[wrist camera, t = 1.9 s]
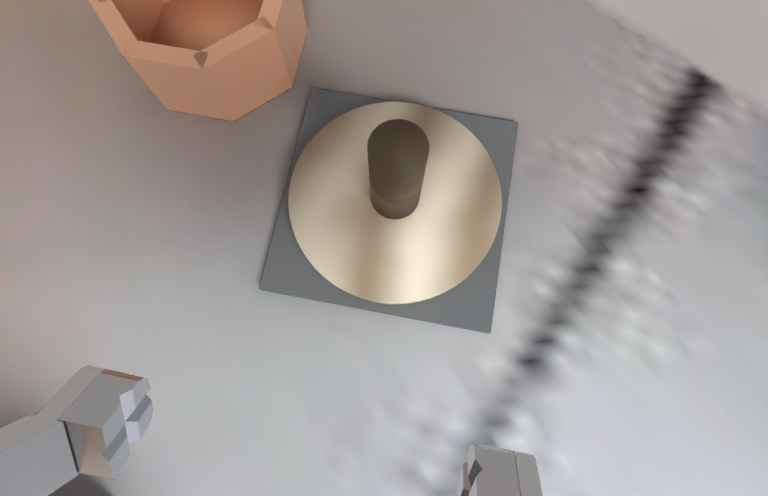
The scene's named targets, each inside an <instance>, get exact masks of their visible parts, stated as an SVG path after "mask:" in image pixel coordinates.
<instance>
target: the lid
mask: <svg viewBox="0 0 768 496" xmlns="http://www.w3.org/2000/svg"><path fill="white" fill-rule="evenodd" d="M288 206H289V217H290V221H291V225H292V229H293V232H294V235H295V237H296V240H297V242H298V244H299V246H300V248H301V250H302V251H303V253H304V255H305V256H306V258H307V259H308V260H309V262H310V263H311V264H312V266H313V267H314V268H315V269H316V270H317V271H318V272H319V273H320V274H321V275H322V276H323V277H324V278H325V279H326V280H327V281H328V282H330V283H331V284H332V285H334V286H335V287H337V288H338V289H340V290H342V291H344V292H345V293H347V294H349V295H352V296H354V297H357V298H359V299H362V300H366V301H370V302H374V303H380V304H388V305H400V304H410V303H418V302H421V301H425V300H428V299H432V298H434V297H436V296H439V295H441V294H444V293H445V292H447V291H449V290H450V289H452V288H454V287H456V286H457V285H458V284H459V283H461V282H462V281H463V280H465V279H466V278H467V277H468V276H469V275H470V274H471V273H472V272H473V271H474V270H475V269H476V268H477V266H478V265H479V264H480V263H481V261H482V260H483V259H484V257H485V256H486V254H487V253H488V251H489V249H490V247H491V246H492V244H493V242H494V239H495V236H496V234H497V231H498V228H499V223H500V218H501V209H502V196H501V187H500V182H499V178H498V174H497V172H496V169H495V166H494V164H493V162H492V160H491V158H490V156H489V154H488V152H487V151H486V149H485V148H484V147H483V145H482V144H481V142H480V141H479V140H478V139H477V138H476V137H475V136H474V135H473V133H472V132H471V131H469V130H468V129H467V128H466V127H465V126H463V125H462V124H461V123H460V122H458V121H457V120H455V119H453V118H452V117H450V116H448V115H446V114H444V113H442V112H440V111H438V110H435V109H433V108H430V107H427V106H423V105H419V104H415V103H407V102H382V103H374V104H370V105H366V106H362V107H359V108H356V109H354V110H351V111H348V112H346V113H345V114H343V115H341V116H339V117H337V118H335V119H334V120H333V121H331V122H330V123H328V124H327V125H326V126H324V127H323V128H322V129H321V130H320V131H319V132H318V133H317V134H316V135H315V136H314V137H313V138H312V139H311V140H310V142H309V143H308V144H307V146H306V147H305V149H304V150H303V152H302V153H301V155H300V157H299V159H298V161H297V163H296V165H295V168H294V171H293V174H292V177H291V182H290V187H289V199H288Z"/></svg>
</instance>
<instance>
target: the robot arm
mask: <svg viewBox="0 0 768 496" xmlns="http://www.w3.org/2000/svg"><path fill="white" fill-rule="evenodd" d="M149 389H150V385H149V380H148V379H147V378H143V377H138V376H134V375H130V374H125V373H121V372H117V371H112V370H108V369H103V368H98V367H94V366H89V365H87V366H85V367H83V368H81V369H80V370H78V372H77V373H76V374H75V375H74V376H73V377H72V378H71V379H70V380H69V381H68V382H67V383H66V384H65V385H64V386H63V387H62V388H61V389H60V390H59V391H58V392H57V393H56V395H55V396H54V397H53V398H52V399H51V400H50V401H49V402H48V403H47V404H46V405H45V406H44V407H43V408H42V409H41V410H40V411H39V412H38V413H37V414H36V415H35V416H32V415H28V416H26V417H23V418H21V419H19V420H17V421H15V422H13V423H10V424H8V425H6V426H4V427H2V428H0V496H48V495H50V494H51V493H53V492H54V491H56V490H57V489H59V488H60V487H61V486H63V485H64V484H66V483H67V482H69V481H70V480H72V479H73V478H75V477H76V476H78V473H81V474H87V475H92V476H98V477H104V478H109V479H114V477H115V476H116V474H117V473H118V471H119V470H120V469H121V467H122V466H123V464H124V463H125V461H126V460H127V458H128V457H129V455H130V451H129V445H131V444H133V443H134V442H136V441H138V440H140V439H141V437H142V436H143V434H144V433H145V431H146V430H147V428H148V425H149V423H150V420H151V417H152V411H153V405H152V400H151V399H150V398H149V397H148V396H147V395H146V394H147V392H148V391H149ZM467 461H468V462H466V463H464V464H463V465H462V468H461V472H460V476H459V482H458V493H457V496H543V494H542V489H541V484H540V478H539V473H538V468H537V463H536V459H535V457H534V456H533V455H530V454H525V453H520V452H515V451H511V450H507V449H501V448H496V447H491V446H485V445H480V444H475V443H472V444H471V445H470V447H469V449H468V452H467Z"/></svg>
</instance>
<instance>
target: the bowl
mask: <svg viewBox="0 0 768 496" xmlns="http://www.w3.org/2000/svg"><path fill="white" fill-rule="evenodd" d="M88 1H89V3H90V4H91V6H92V7H93V9H94V11H95V12H96V14H97V15H98V17H99V19H100V20H101V22H102V23H103V25H104V27H105V28H106V30H107V31H108V33H109V35H110V36H111V38H112V39H113V41H114V43H115V44H116V46H117V47H118V49H119V51H120V52H121V54H122V55H123V57H124V58H125V59H126V61H127V62H128V63H129V64H130V66H131V67H132V68H133V69H134V70H135V72H136V73H137V74H138V75H139V77H140V78H141V79H142V80H143V81H144V83H145V84H146V85H147V86H148V87H149V89H150V90H151V91H152V92H153V94H154V95H155V96H156V97H157V98H158V100H159V101H160V102H161V103H162V105H163V106H164V107H165V108H166V109H167V110H171V111H177V112H183V113H188V114H194V115H200V116H206V117H211V118H217V119H223V120H229V121H235V120H237V119H238V118H240V117H242V116H243V115H245V114H247V113H249V112H250V111H252V110H254V109H256V108H257V107H259V106H261V105H262V104H264V103H266V102H268V101H269V100H271V99H273V98H275V97H276V96H278V95H280V94H282V93H283V92H285V91H287V90H288V89H290V88H292V87H293V84H294V80H295V76H296V73H297V69H298V65H299V62H300V58H301V54H302V51H303V47H304V43H305V40H306V36H307V32H308V28H307V24H306V19H305V14H304V10H303V5H302V1H301V0H88Z"/></svg>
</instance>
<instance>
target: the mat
mask: <svg viewBox="0 0 768 496" xmlns="http://www.w3.org/2000/svg"><path fill="white" fill-rule="evenodd" d="M382 102H395V101H389V100H383V99H377V98H371V97H365V96H359V95H353V94H347V93H341V92H335V91H330V90H324V89H318V88H311V92H310V96H309V100H308V103H307V107H306V111H305V115H304V119H303V122H302V126H301V130H300V134H299V138H298V142H297V145H296V149H295V153H294V157H293V161H292V165H291V168H290V172H289V176H288V180H287V184H286V188H285V191H284V195H283V199H282V203H281V207H280V210H279V214H278V218H277V222H276V226H275V230H274V233H273V237H272V241H271V245H270V249H269V253H268V256H267V260H266V264H265V268H264V272H263V275H262V279H261V283H260V287H259V289H260V290H264V291H270V292H275V293H280V294H285V295H291V296H296V297H301V298H306V299H312V300H317V301H322V302H327V303H332V304H338V305H343V306H348V307H353V308H359V309H364V310H369V311H374V312H380V313H385V314H390V315H395V316H401V317H406V318H411V319H416V320H422V321H427V322H432V323H437V324H442V325H448V326H453V327H458V328H463V329H469V330H474V331H479V332H484V333H490V332H491V325H492V317H493V309H494V302H495V294H496V287H497V279H498V271H499V264H500V256H501V248H502V241H503V233H504V226H505V218H506V210H507V203H508V195H509V187H510V180H511V172H512V165H513V157H514V149H515V142H516V134H517V127H518V122H513V121H507V120H501V119H495V118H489V117H483V116H477V115H472V114H466V113H460V112H454V111H448V110H442V109H436V108H433V109H435V110H438V111H440V112H442V113H444V114H446V115H448V116H450V117H452V118H453V119H455V120H457V121H458V122H460V123H461V124H462V125H463V126H465V127H466V128H467V129H468V130H469V131H471V132H472V133H473V135H474V136H475V137H476V138H477V139H478V140H479V141H480V142H481V144H482V145H483V147H484V148H485V149H486V151H487V152H488V154H489V156H490V158H491V160H492V162H493V164H494V166H495V169H496V172H497V174H498V178H499V182H500V187H501V196H502V209H501V218H500V223H499V228H498V231H497V234H496V236H495V239H494V242H493V244H492V246H491V247H490V249H489V251H488V253H487V254H486V256H485V257H484V259H483V260H482V261H481V263H480V264H479V265H478V266H477V268H476V269H475V270H474V271H473V272H472V273H471V274H470V275H469V276H468V277H467V278H466V279H465V280H463V281H462V282H461V283H459V284H458V285H457V286H456V287H454V288H452V289H450V290H449V291H447V292H445V293H444V294H441V295H439V296H436V297H434V298H432V299H428V300H425V301H421V302H418V303H410V304H400V305H388V304H380V303H374V302H370V301H366V300H362V299H359V298H357V297H354V296H352V295H349V294H347V293H345V292H344V291H342V290H340V289H338V288H337V287H335V286H334V285H332V284H331V283H330V282H328V281H327V280H326V279H325V278H324V277H323V276H322V275H321V274H320V273H319V272H318V271H317V270H316V269H315V268H314V267H313V266H312V264H311V263H310V262H309V260H308V259H307V258H306V256H305V255H304V253H303V251H302V250H301V248H300V246H299V244H298V242H297V240H296V237H295V235H294V232H293V229H292V225H291V221H290V217H289V206H288V199H289V187H290V182H291V177H292V174H293V171H294V168H295V165H296V163H297V161H298V159H299V157H300V155H301V153H302V152H303V150H304V149H305V147H306V146H307V144H308V143H309V142H310V140H311V139H312V138H313V137H314V136H315V135H316V134H317V133H318V132H319V131H320V130H321V129H322V128H323V127H324V126H326V125H327V124H328V123H330V122H331V121H333V120H334V119H335V118H337V117H339V116H341V115H343V114H345V113H346V112H348V111H351V110H354V109H356V108H359V107H362V106H366V105H370V104H374V103H382Z"/></svg>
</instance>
